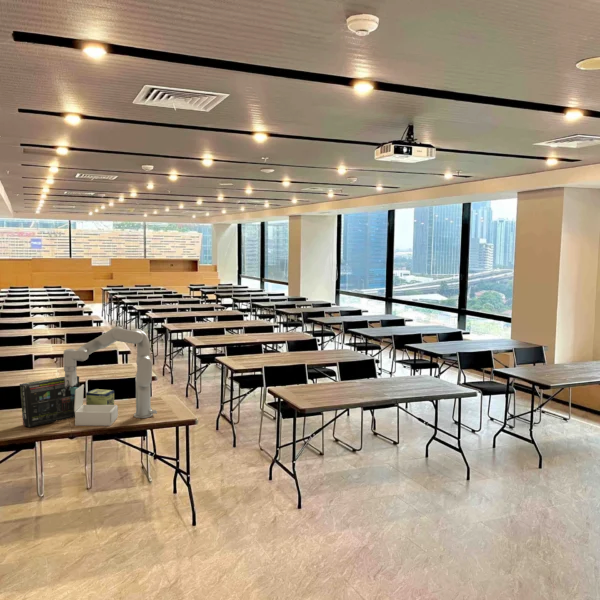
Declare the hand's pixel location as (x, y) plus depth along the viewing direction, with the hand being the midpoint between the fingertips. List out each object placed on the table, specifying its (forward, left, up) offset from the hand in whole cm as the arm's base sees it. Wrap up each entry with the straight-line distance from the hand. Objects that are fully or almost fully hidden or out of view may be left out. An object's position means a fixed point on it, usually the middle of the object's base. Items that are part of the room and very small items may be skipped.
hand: (70, 394), depth 369 cm
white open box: (-16, 0, -18) cm, 25 cm away
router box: (+12, -1, -18) cm, 22 cm away
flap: (-6, 0, -2) cm, 6 cm away
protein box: (-13, -18, -19) cm, 29 cm away
